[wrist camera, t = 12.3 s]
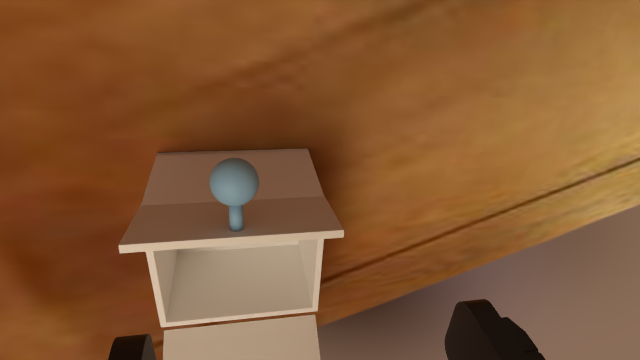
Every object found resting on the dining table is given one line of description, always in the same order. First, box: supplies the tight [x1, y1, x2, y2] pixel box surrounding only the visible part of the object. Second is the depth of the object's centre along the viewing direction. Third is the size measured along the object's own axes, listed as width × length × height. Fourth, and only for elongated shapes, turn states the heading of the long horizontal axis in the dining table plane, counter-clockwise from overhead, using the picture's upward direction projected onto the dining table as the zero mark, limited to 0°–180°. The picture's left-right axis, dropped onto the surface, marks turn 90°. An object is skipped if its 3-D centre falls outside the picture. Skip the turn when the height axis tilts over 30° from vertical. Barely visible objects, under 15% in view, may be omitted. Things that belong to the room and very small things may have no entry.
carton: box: [141, 148, 324, 327], centre depth 44 cm, size 16×14×11 cm
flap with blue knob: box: [119, 158, 344, 253], centre depth 31 cm, size 15×7×6 cm
